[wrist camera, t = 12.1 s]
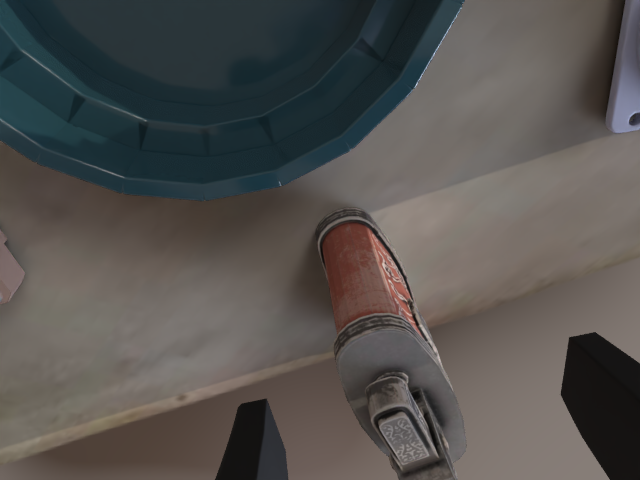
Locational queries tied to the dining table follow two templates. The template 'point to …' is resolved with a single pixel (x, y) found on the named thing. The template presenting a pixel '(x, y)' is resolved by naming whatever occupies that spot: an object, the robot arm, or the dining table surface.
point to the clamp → (8, 272)
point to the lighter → (388, 351)
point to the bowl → (206, 86)
